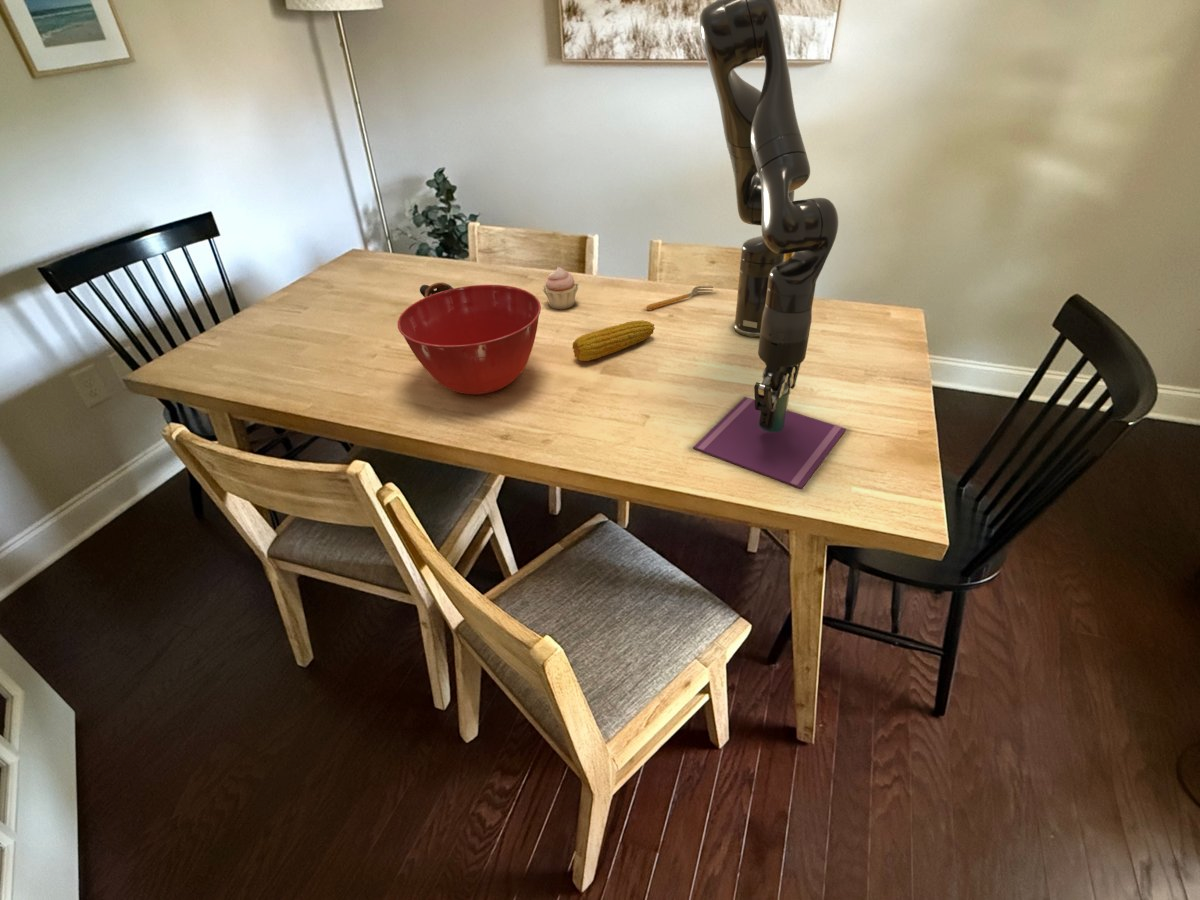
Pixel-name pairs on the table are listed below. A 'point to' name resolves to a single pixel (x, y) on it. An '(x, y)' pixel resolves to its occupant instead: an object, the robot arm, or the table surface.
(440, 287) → the pottery mug
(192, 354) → the table surface
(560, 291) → the cupcake
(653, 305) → the fork
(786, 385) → the salt shaker
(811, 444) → the napkin
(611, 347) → the food
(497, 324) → the mixing bowl
